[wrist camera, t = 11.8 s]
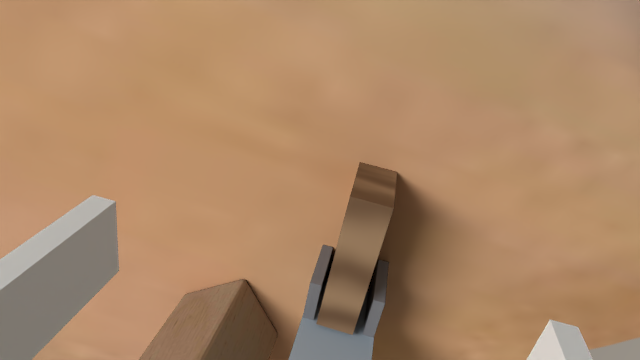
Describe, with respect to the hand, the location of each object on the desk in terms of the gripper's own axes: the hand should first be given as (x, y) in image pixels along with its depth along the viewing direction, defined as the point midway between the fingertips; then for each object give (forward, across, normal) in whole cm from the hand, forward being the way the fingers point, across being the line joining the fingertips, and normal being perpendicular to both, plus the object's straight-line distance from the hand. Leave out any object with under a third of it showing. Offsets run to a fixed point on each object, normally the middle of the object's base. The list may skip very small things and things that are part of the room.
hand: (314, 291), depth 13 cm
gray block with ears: (+32, +2, -26) cm, 41 cm away
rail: (+32, +2, -18) cm, 36 cm away
